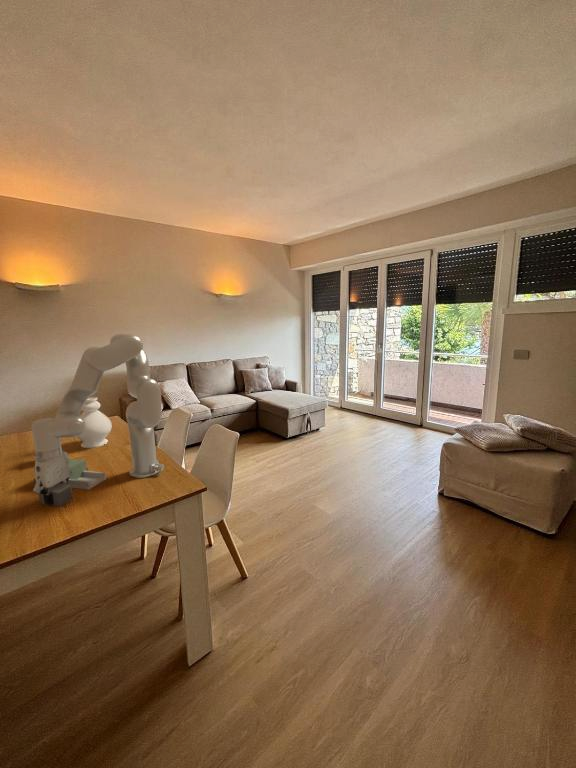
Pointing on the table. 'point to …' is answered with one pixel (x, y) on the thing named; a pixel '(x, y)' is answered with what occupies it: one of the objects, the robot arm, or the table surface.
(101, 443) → the decorative vase
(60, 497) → the gray rectangular block
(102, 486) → the table surface
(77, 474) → the green toy tractor
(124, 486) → the table surface
